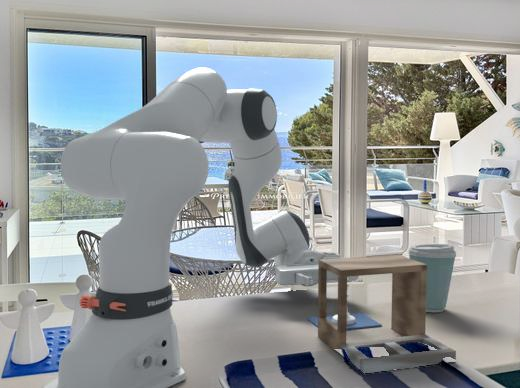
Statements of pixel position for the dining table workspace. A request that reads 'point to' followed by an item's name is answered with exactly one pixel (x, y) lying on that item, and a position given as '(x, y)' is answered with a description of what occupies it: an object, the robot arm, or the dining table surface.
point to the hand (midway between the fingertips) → (329, 280)
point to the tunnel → (403, 312)
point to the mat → (361, 322)
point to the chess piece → (349, 318)
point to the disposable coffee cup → (435, 272)
